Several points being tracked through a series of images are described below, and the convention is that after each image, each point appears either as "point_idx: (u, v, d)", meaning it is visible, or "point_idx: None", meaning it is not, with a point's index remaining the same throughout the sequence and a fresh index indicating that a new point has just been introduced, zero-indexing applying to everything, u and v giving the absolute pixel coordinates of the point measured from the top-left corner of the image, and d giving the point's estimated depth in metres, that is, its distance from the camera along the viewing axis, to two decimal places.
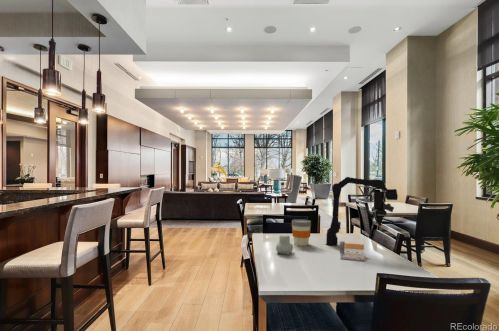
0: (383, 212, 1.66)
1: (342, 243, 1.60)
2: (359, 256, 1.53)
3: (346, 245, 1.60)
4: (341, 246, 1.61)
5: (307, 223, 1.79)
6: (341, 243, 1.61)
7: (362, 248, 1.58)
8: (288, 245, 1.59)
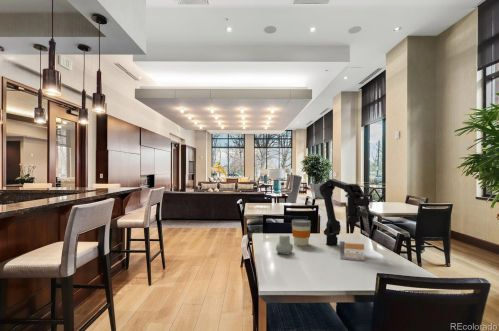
0: (356, 219, 1.57)
1: (342, 243, 1.60)
2: (359, 256, 1.53)
3: (346, 245, 1.60)
4: (341, 246, 1.61)
5: (307, 223, 1.79)
6: (341, 243, 1.61)
7: (362, 248, 1.58)
8: (288, 245, 1.59)
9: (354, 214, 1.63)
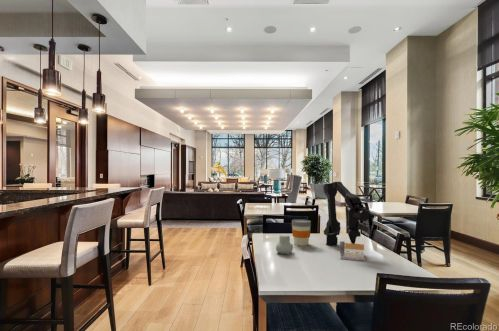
0: (357, 233, 1.52)
1: (342, 243, 1.60)
2: (359, 256, 1.53)
3: (346, 245, 1.60)
4: (341, 246, 1.61)
5: (307, 223, 1.79)
6: (341, 243, 1.61)
7: (362, 248, 1.57)
8: (288, 245, 1.59)
9: (355, 228, 1.59)
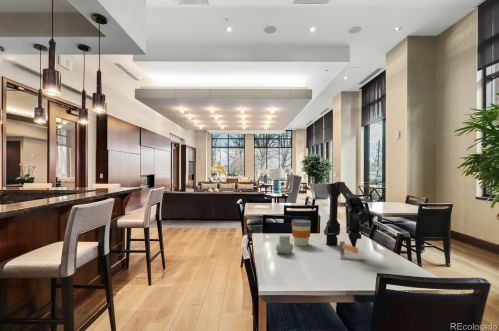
0: (357, 235, 1.47)
1: (340, 243, 1.61)
2: (359, 256, 1.53)
3: (343, 245, 1.59)
4: None
5: (307, 223, 1.79)
6: None
7: (353, 251, 1.51)
8: (288, 245, 1.59)
9: (355, 230, 1.53)
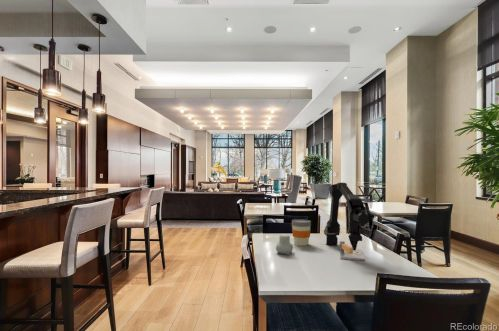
0: (358, 237, 1.42)
1: (340, 243, 1.61)
2: (359, 256, 1.53)
3: (342, 245, 1.59)
4: None
5: (307, 223, 1.79)
6: None
7: (348, 251, 1.51)
8: (288, 245, 1.59)
9: (356, 231, 1.49)
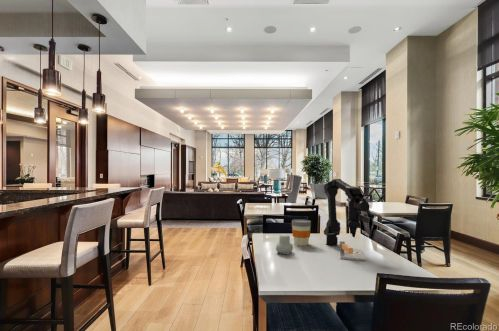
0: (357, 224, 1.51)
1: (340, 243, 1.61)
2: (359, 256, 1.53)
3: (342, 245, 1.59)
4: None
5: (307, 223, 1.79)
6: None
7: (348, 251, 1.51)
8: (288, 245, 1.59)
9: (355, 219, 1.57)
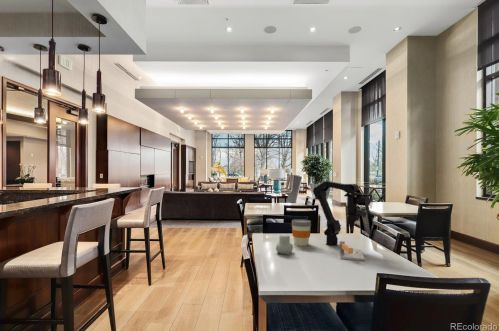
0: (355, 218, 1.63)
1: (340, 243, 1.61)
2: (359, 256, 1.53)
3: (342, 245, 1.59)
4: None
5: (307, 223, 1.79)
6: None
7: (348, 251, 1.51)
8: (288, 245, 1.59)
9: (353, 213, 1.69)
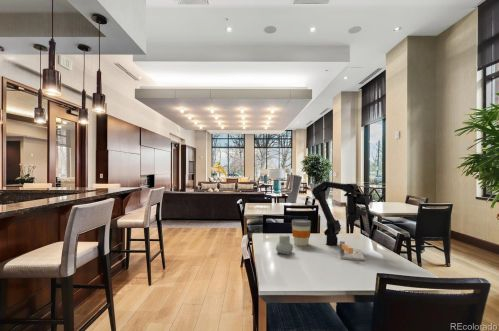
0: (355, 217, 1.63)
1: (340, 243, 1.61)
2: (359, 256, 1.53)
3: (342, 245, 1.59)
4: None
5: (307, 223, 1.79)
6: None
7: (348, 251, 1.51)
8: (288, 245, 1.59)
9: (353, 212, 1.70)
